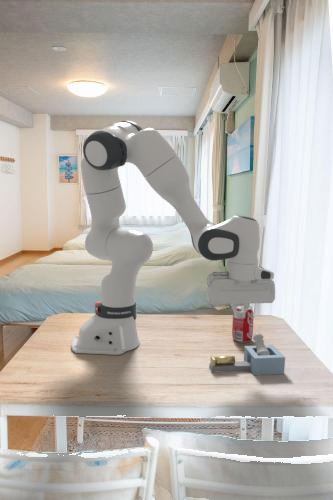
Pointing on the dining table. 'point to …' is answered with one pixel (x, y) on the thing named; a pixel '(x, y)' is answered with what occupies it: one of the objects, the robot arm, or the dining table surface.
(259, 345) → the rook chess piece
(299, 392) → the dining table surface
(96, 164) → the robot arm
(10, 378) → the dining table surface
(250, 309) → the soda can
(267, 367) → the mount
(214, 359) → the lock pin
